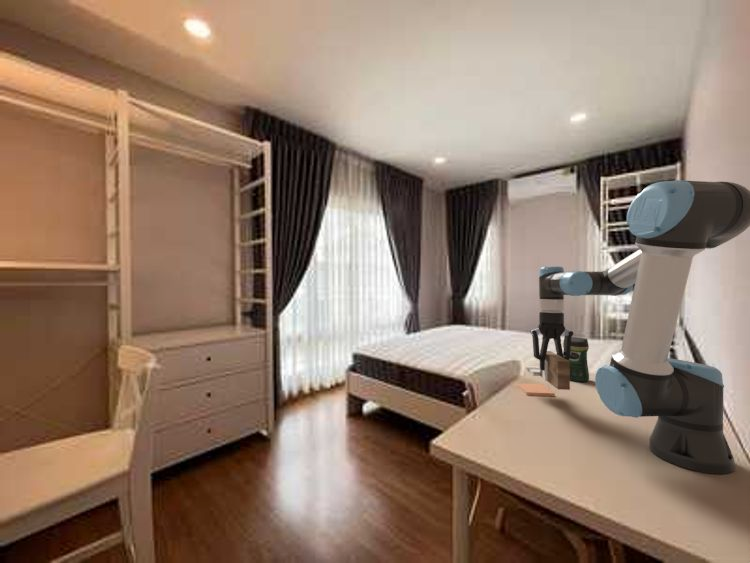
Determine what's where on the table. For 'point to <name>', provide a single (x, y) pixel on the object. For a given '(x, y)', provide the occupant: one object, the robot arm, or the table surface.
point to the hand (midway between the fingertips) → (551, 379)
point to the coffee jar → (578, 359)
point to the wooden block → (554, 371)
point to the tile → (535, 389)
